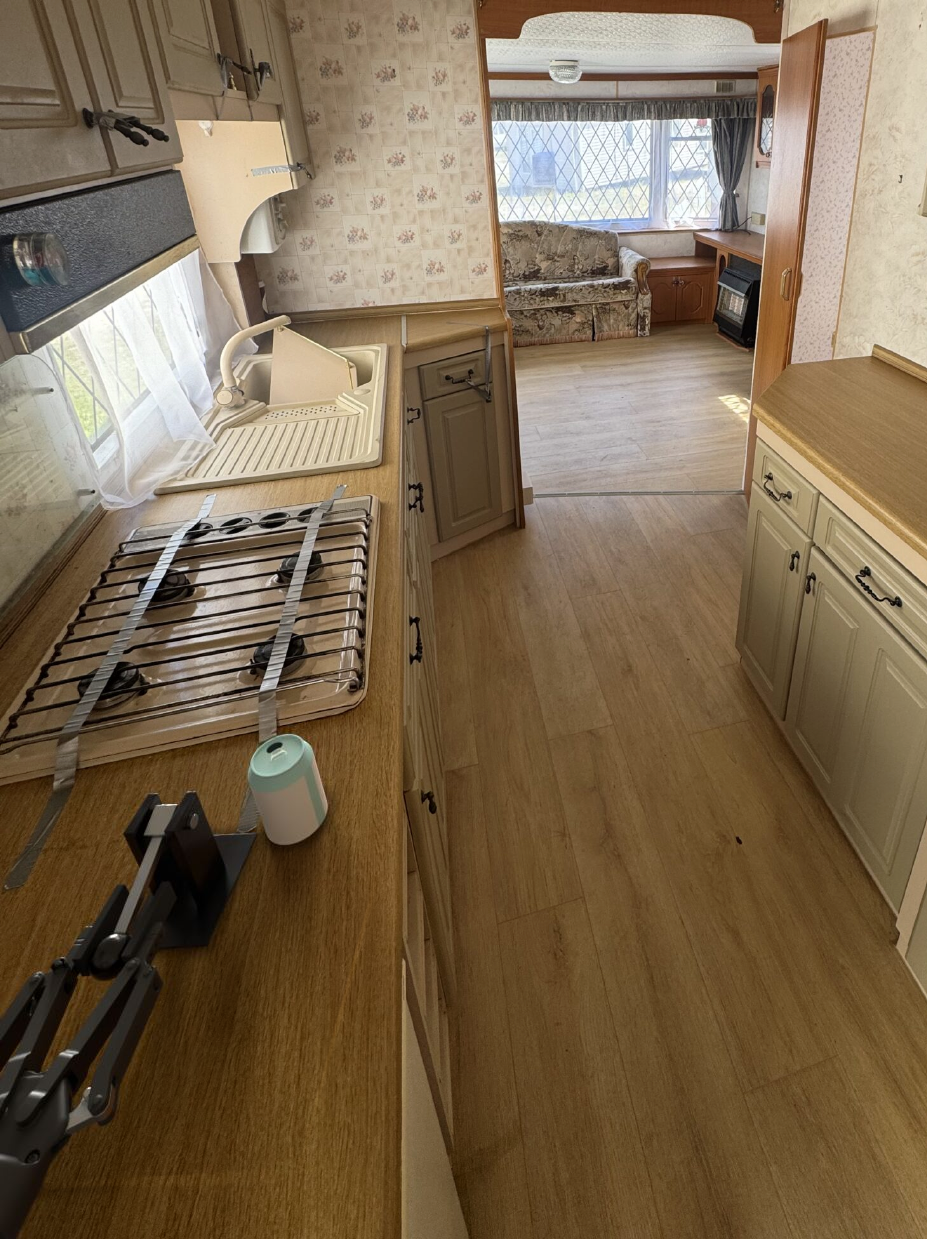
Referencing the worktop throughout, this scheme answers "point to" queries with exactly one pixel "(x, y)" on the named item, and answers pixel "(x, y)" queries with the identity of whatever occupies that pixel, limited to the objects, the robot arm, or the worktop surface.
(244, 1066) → the worktop surface
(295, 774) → the can
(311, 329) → the worktop surface
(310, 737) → the worktop surface
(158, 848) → the tap lever
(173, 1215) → the worktop surface
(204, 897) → the lever stand
